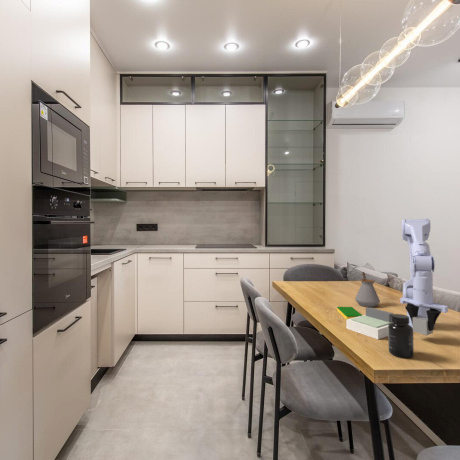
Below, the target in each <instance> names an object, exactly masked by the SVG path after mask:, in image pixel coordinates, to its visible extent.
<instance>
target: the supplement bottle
mask: <svg viewBox="0 0 460 460" xmlns="http://www.w3.org/2000/svg"><path fill="white" fill-rule="evenodd" d="M391 321H392V323H390V324H389V325H388V336H387V339H388V351H389V354H391V355H392V356H393V357H396V358H401V359H411V358H413V357H414V353H415V351H414V350H415V349H414V345H415V343H414V332H413V328H412V327H411V326H410V325H409V317H408V316H407V314H406V315H405V314H402V313H401V314H400V313H393V315H391Z"/></svg>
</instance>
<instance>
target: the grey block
mask: <svg viewBox="0 0 460 460" xmlns="http://www.w3.org/2000/svg"><path fill="white" fill-rule="evenodd" d="M413 333H417V334H421V335H424V336H428V335H431V334H433V333H434V329H433V330H432V331H429V330H428V317H424V316H420V315H418V316H415V317H413Z"/></svg>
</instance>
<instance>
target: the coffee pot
mask: <svg viewBox="0 0 460 460" xmlns="http://www.w3.org/2000/svg"><path fill="white" fill-rule="evenodd" d="M361 274H362V278H363V279H360V282H361V285H360V287H359V289H358V291H357V294H356V296H355V299H354V300H355V302H357V304H358V305H359V306H361V307H365V308H369V307H370V308H375V307H376V306H379V304H380V302H381V300H380V298H379V295H378V294H377V291H376V288H375V286H374V283H375V282H376V281H375V280H374V279H369V278H366V273H365V272H364V271H362V272H361Z"/></svg>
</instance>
